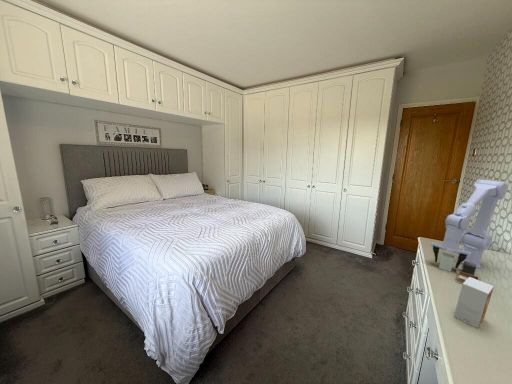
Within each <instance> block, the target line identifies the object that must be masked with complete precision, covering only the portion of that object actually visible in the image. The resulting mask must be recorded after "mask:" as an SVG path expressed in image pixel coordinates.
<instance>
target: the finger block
mask: <svg viewBox="0 0 512 384" xmlns="http://www.w3.org/2000/svg"><path fill="white" fill-rule="evenodd" d="M454 261H455V254H451V253H449V252H444V251H443V252H442V254H441V257H440V262H439V266H438V268H439V269H442V270H445V271H447V272H450V273H451V272H452V269H453V265H454Z"/></svg>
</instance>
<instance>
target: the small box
mask: <svg viewBox="0 0 512 384" xmlns="http://www.w3.org/2000/svg"><path fill="white" fill-rule="evenodd" d="M494 287H495V286H494V285H492V284H489V283H487V282H484V281H479V280H476V279H474V278H471V277H469V278H468V279H466V280H465V282H464V283H463V284H462V285H461V287H460V292H459V295H458V299H457V303H456V307H455V311H454V313H453V317H454V318H457V319H458V320H460V321H463V322H464V323H466V324H469V326H472V327H474V328H477V329H479V328H480V326H481V324H482V323H483V321H484V320H485V318H486V313H487V310H488V307H489V305H490V300H491V298H492V294H493V291H494Z"/></svg>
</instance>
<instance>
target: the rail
mask: <svg viewBox="0 0 512 384" xmlns="http://www.w3.org/2000/svg"><path fill="white" fill-rule="evenodd" d="M476 268H477V267H476V264H474V263H470V262H467V261H464V262H463V263H462V267H461V268H460V267H458V268H455V280H454V281H455V283H458V284H463V283H464V282H465V280H466V279H468V278H469V277H471V278H474V279H476V280H479V281H481V277H480V274H479V273H476Z"/></svg>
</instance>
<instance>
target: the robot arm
mask: <svg viewBox="0 0 512 384" xmlns="http://www.w3.org/2000/svg"><path fill="white" fill-rule="evenodd" d="M507 190H508V185H507V183H506V182H505V181H496V180H489V179H487V180H486V179H483V178H482V179H481V178H479V179H477V180H475V182H474V184H473V192H472V193H471V195H470V197H469V198H468V200H467V201H466V202H463V203H461V204H460V205H459V206H458V207H457V209H456V210H455V211H454V212H453V213H452V214H448V215H447V216H446V218H445V221H444V222H445V233H444V238H443V241H442V243H438V242H433V241H431V243H430V247H431V248H432V251H433V254H434V260H435V261H434V262H435V263H438V259H439V252H440V250H444V251H447V252H452V253H454V254H455V253H456V254H458V258H457V261H456V264H455V266H454V267H455V269H456V268H459V267H460V265H461V264H463V262H464V261H467V262H470V263H474V264H476V268H478V269H481V268H482V267H481V266H482V265H481V261H482V256H483V252H484V251H486V250H489V248H490V247H491V246H492V245H491V244H492V240H493V239H492V238H493V237H492V236H491V235H490V233H488V231H487V230H488V226H489V224H490V222H491V219H492V217H493V215H494V212H495V210H496V207H497V203H498V202H499V200H503V199H504V197H505V196H506V192H508V191H507ZM480 203H481V204H480ZM479 204H480V207H479V210H478V211H477V208H476V207H477V206H478V205H479ZM476 211H477V212H478V213H477V215H476V218H475V219H474V223H473V225H472V227H471V228H467V227H468V225H469V222H470V219H471V217H472V216H473V215H474V213H475V212H476ZM466 228H467V229H466ZM460 242H461V243H462V245H463V248H459V247H460V244H461V243H460Z"/></svg>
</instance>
